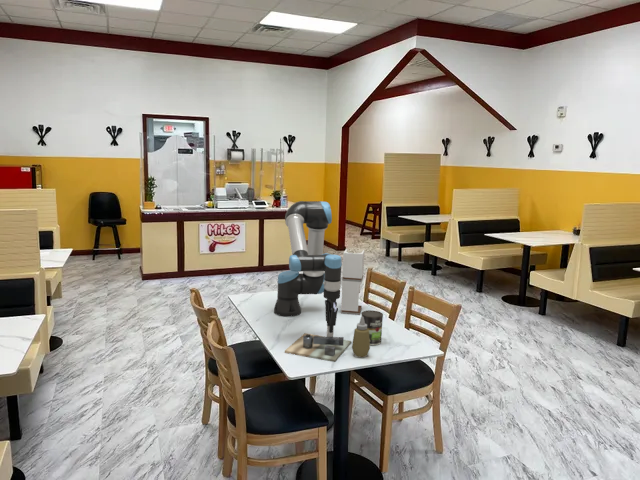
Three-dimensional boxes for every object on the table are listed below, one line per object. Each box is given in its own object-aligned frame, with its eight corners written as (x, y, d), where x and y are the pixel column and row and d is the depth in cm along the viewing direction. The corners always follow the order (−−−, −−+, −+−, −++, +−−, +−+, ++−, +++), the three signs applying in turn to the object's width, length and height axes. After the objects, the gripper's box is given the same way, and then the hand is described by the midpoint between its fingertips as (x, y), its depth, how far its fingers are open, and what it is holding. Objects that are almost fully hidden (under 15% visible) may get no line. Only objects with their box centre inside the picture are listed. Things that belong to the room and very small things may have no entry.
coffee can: (385, 343, 238) (387, 315, 235) (367, 346, 233) (369, 318, 230) (373, 336, 246) (375, 309, 244) (356, 339, 242) (357, 311, 239)
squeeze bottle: (350, 351, 227) (352, 313, 223) (367, 351, 227) (369, 313, 224) (352, 358, 219) (354, 319, 216) (370, 358, 219) (373, 319, 216)
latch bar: (302, 348, 225) (302, 338, 224) (303, 344, 230) (303, 334, 229) (343, 350, 224) (343, 340, 223) (343, 346, 229) (343, 336, 228)
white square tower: (359, 315, 278) (362, 254, 272) (340, 313, 279) (343, 252, 273) (361, 309, 289) (364, 250, 283) (343, 307, 290) (345, 249, 284)
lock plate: (284, 352, 223) (284, 338, 222) (304, 335, 245) (305, 321, 244) (335, 362, 215) (335, 346, 213) (351, 342, 237) (351, 329, 236)
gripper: (320, 285, 229) (318, 333, 234) (328, 293, 217) (326, 344, 222) (335, 284, 231) (333, 332, 236) (344, 292, 219) (342, 343, 224)
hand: (329, 338), depth 229 cm, fingers closed
